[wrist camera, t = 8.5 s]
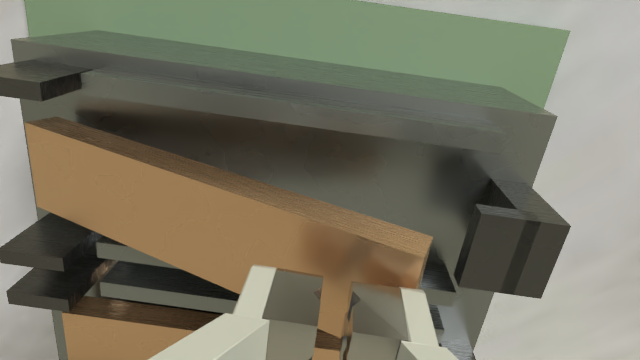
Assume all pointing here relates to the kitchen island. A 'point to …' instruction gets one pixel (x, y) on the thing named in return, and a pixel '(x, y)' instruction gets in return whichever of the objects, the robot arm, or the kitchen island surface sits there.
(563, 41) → the board
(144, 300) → the grey toaster
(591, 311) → the kitchen island surface
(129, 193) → the strap near
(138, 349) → the strap far
